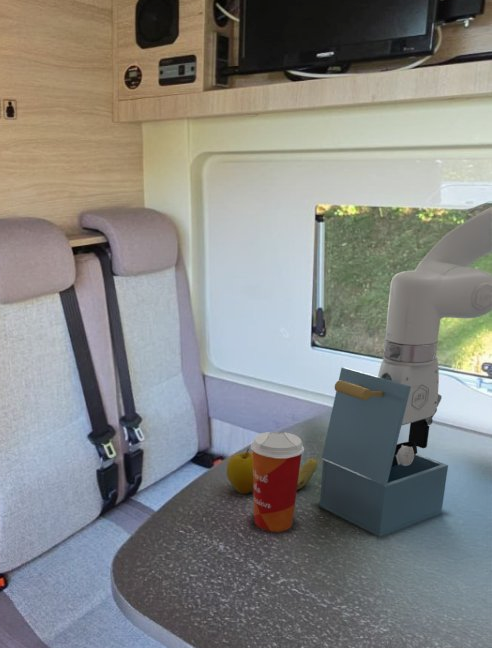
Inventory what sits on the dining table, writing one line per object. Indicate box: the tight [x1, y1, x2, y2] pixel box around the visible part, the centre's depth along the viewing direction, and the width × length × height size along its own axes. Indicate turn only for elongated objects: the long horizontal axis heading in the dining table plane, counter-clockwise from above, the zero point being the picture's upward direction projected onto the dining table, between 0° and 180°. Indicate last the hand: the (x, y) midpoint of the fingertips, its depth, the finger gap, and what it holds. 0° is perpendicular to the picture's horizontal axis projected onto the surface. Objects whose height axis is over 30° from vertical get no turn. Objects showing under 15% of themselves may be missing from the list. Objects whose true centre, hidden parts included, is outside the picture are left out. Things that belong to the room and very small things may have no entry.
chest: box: [319, 453, 449, 538], centre depth 120 cm, size 15×13×9 cm
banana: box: [297, 457, 318, 491], centre depth 131 cm, size 10×2×4 cm, turn 136°
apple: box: [226, 447, 254, 495], centre depth 130 cm, size 6×6×8 cm
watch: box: [391, 441, 418, 467], centre depth 120 cm, size 8×5×4 cm, turn 118°
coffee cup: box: [250, 431, 305, 533], centre depth 117 cm, size 8×8×15 cm
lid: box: [321, 366, 411, 484], centre depth 112 cm, size 16×13×6 cm
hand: (398, 451), depth 120 cm, fingers open, 8 cm apart
